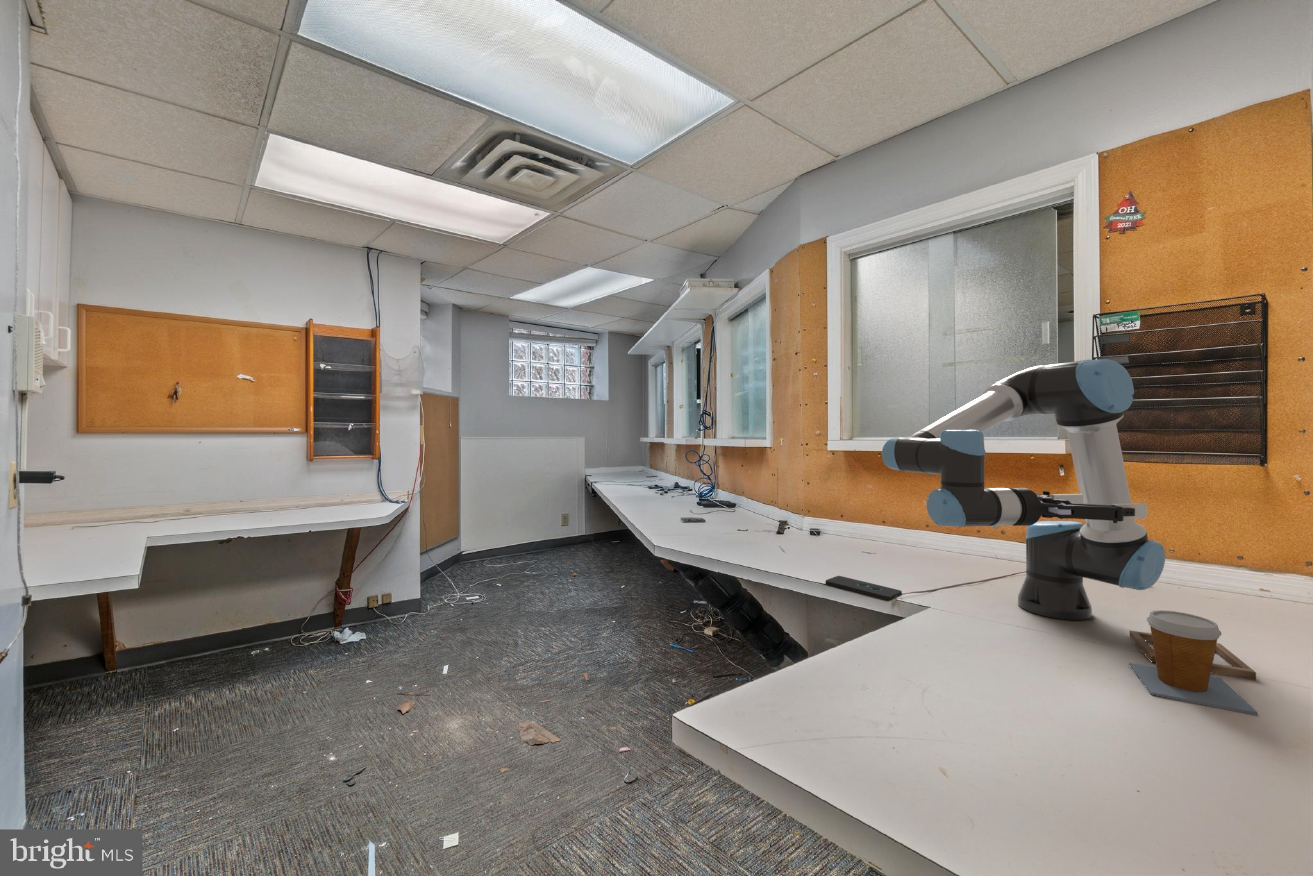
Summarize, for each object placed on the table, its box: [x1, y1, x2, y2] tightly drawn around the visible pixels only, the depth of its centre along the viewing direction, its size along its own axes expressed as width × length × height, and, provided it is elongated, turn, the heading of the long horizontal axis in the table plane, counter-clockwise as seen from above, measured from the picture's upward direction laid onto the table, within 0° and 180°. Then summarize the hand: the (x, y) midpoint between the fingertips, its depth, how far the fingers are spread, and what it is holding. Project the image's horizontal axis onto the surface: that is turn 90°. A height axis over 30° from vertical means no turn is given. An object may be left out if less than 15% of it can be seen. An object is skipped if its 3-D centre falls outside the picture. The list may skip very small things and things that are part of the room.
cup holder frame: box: [1128, 629, 1257, 681], centre depth 104 cm, size 14×14×2 cm
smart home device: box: [825, 575, 903, 601], centre depth 149 cm, size 8×2×20 cm
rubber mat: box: [1128, 662, 1259, 716], centre depth 92 cm, size 13×13×1 cm
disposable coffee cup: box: [1146, 610, 1223, 692], centre depth 92 cm, size 10×10×12 cm
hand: (1111, 505), depth 102 cm, fingers open, 13 cm apart
